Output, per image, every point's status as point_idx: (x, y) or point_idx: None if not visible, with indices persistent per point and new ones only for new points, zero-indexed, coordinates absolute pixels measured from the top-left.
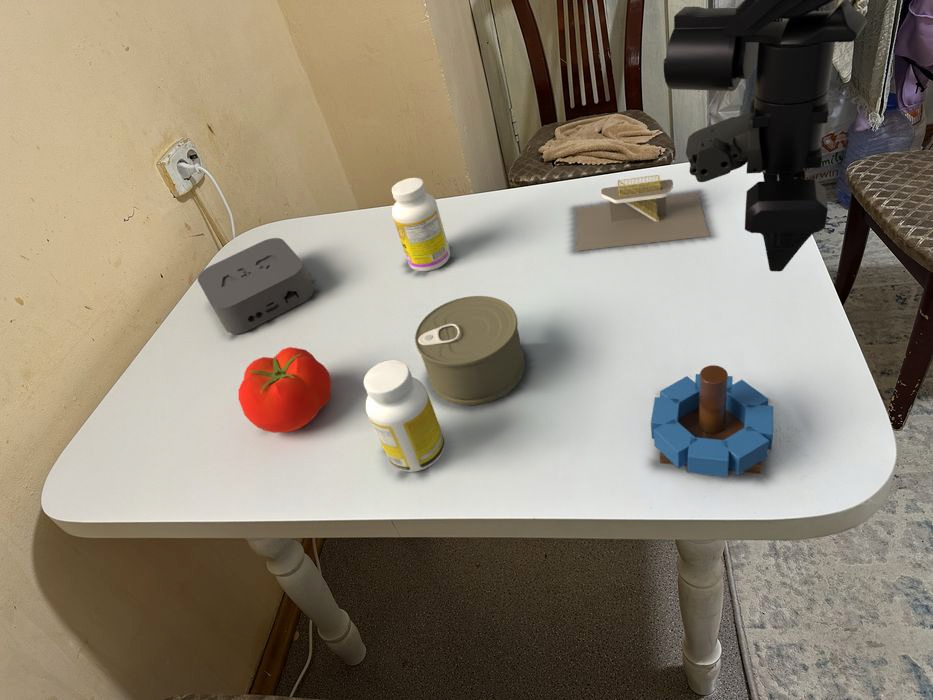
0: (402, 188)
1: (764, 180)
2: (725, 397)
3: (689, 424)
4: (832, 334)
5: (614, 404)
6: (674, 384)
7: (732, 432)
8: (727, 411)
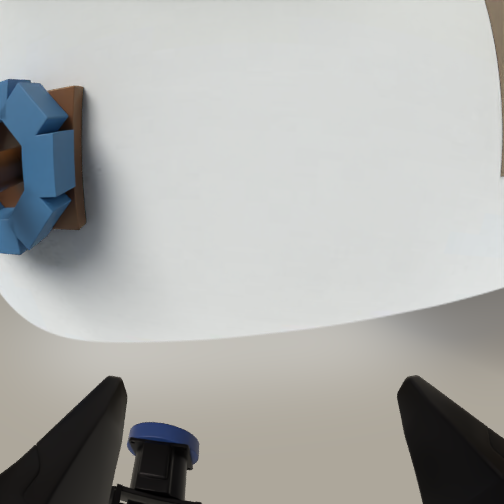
0: None
1: (489, 466)
2: None
3: None
4: (247, 322)
5: (72, 14)
6: (29, 101)
7: (14, 192)
8: None
